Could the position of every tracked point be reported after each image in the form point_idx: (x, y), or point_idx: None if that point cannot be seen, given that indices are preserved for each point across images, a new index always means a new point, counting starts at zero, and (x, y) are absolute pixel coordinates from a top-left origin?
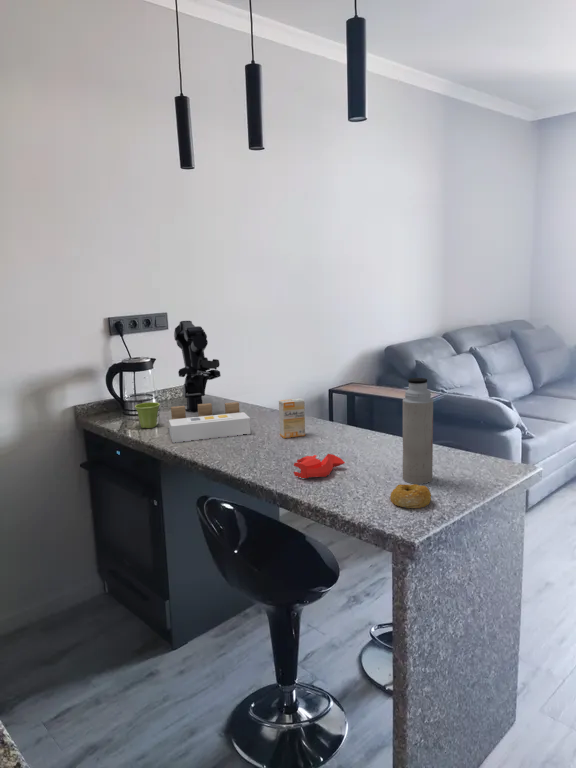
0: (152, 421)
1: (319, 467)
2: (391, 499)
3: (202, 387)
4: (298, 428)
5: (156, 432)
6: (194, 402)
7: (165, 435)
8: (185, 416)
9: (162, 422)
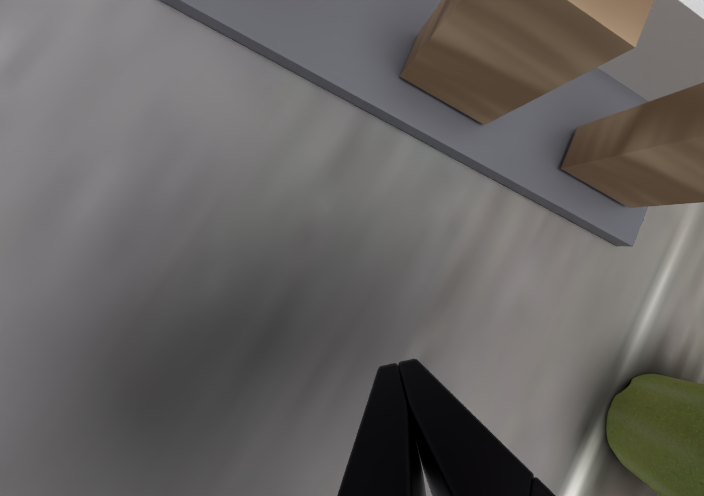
0: (691, 383)
1: None
2: None
3: (464, 433)
4: None
5: (674, 257)
6: None
7: None
8: (661, 99)
9: (548, 462)
